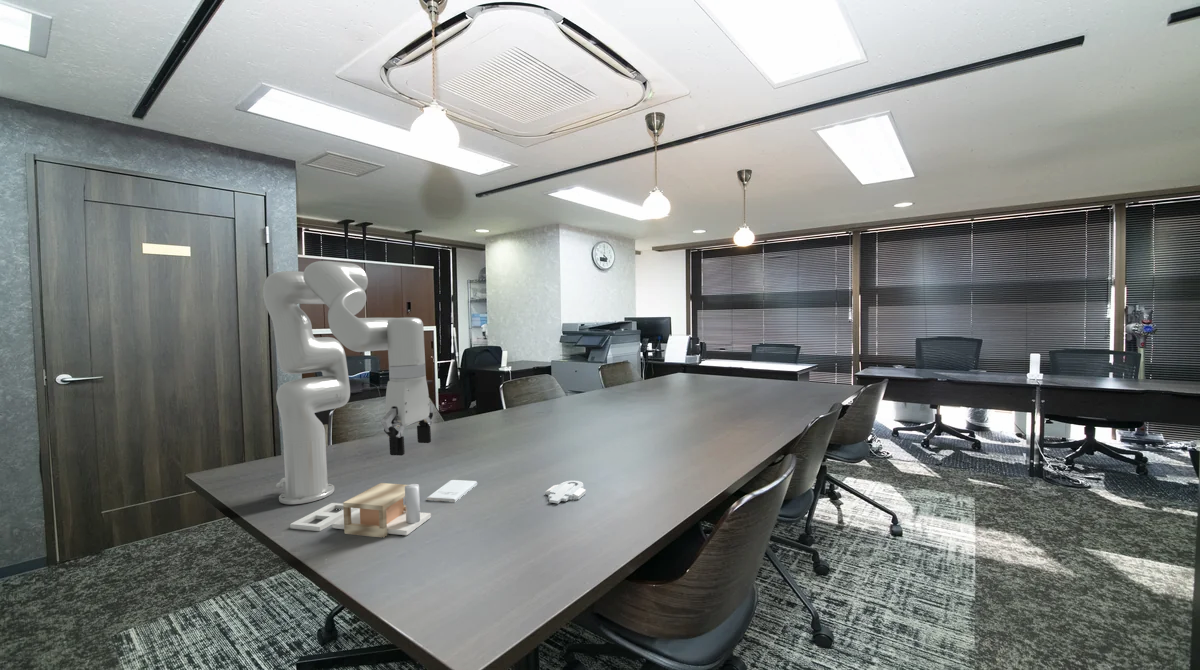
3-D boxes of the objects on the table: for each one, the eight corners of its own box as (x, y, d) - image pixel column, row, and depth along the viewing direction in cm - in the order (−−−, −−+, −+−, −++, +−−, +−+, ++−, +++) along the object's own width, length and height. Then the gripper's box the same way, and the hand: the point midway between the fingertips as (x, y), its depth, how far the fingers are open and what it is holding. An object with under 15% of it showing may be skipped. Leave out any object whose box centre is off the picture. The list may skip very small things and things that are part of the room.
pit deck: (290, 528, 105) (290, 523, 105) (332, 506, 117) (331, 502, 117) (319, 531, 103) (319, 526, 103) (359, 508, 115) (358, 505, 115)
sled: (332, 528, 104) (330, 488, 104) (361, 511, 113) (360, 475, 112) (406, 535, 100) (405, 494, 99) (430, 517, 109) (429, 479, 108)
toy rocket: (570, 508, 113) (570, 499, 113) (536, 503, 117) (536, 494, 117) (596, 486, 128) (596, 478, 128) (565, 482, 132) (565, 474, 132)
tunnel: (344, 533, 102) (343, 502, 101) (381, 510, 113) (380, 482, 113) (384, 537, 99) (382, 505, 99) (417, 514, 111) (416, 485, 111)
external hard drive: (477, 486, 130) (455, 504, 118) (450, 485, 131) (426, 502, 119) (477, 480, 130) (455, 498, 118) (450, 479, 131) (426, 496, 119)
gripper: (416, 368, 112) (419, 438, 113) (365, 378, 95) (369, 459, 96) (444, 368, 111) (447, 438, 111) (397, 377, 94) (401, 461, 94)
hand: (411, 448), depth 104 cm, fingers open, 9 cm apart
